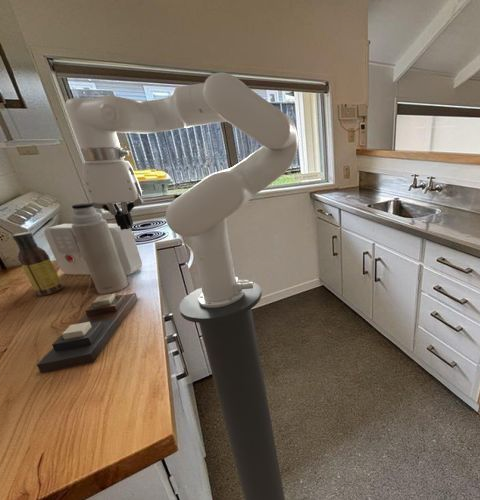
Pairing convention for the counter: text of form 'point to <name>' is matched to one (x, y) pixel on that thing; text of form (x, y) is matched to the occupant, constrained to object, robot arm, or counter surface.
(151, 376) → the counter surface
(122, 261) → the rounded white slab
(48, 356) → the black key block
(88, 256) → the thermos bottle
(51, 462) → the counter surface
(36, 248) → the sauce bottle
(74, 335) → the high key
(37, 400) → the counter surface
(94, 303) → the low key
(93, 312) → the walnut key block
